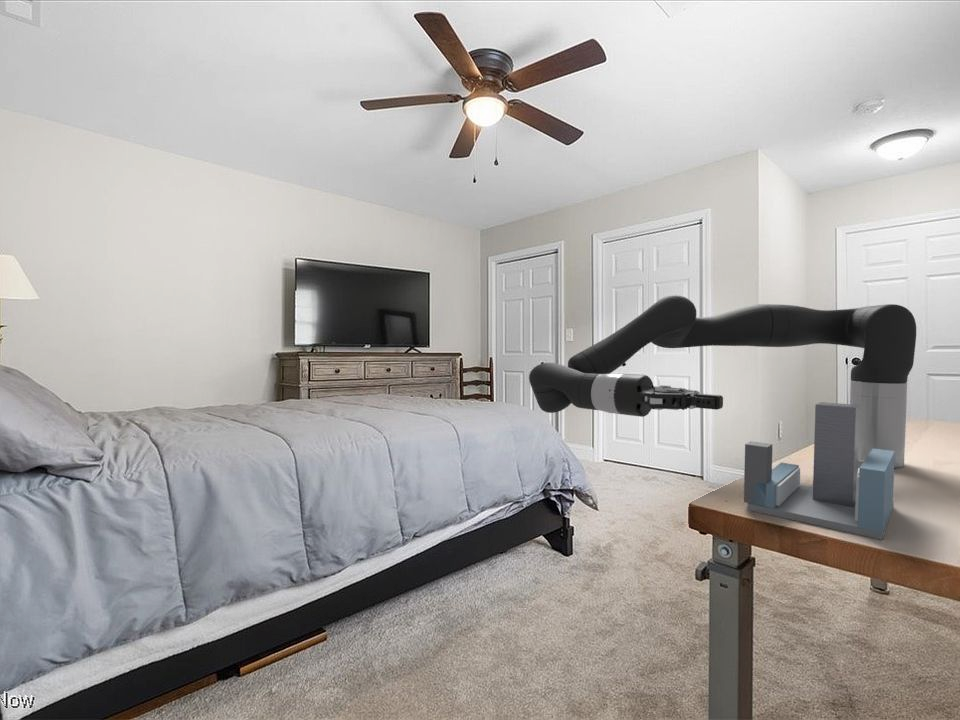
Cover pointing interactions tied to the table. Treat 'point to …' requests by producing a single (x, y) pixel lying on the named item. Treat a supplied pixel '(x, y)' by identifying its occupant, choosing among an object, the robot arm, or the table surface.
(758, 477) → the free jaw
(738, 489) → the table surface
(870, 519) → the vise base
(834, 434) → the steel block
